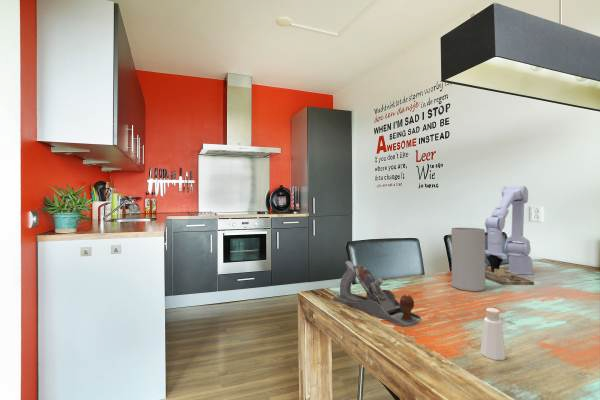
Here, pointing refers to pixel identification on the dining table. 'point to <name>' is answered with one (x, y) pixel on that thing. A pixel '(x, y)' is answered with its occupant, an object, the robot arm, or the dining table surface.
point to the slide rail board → (510, 280)
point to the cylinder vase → (468, 259)
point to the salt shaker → (493, 336)
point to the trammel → (494, 275)
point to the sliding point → (502, 272)
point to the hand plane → (376, 298)
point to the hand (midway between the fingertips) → (495, 272)
